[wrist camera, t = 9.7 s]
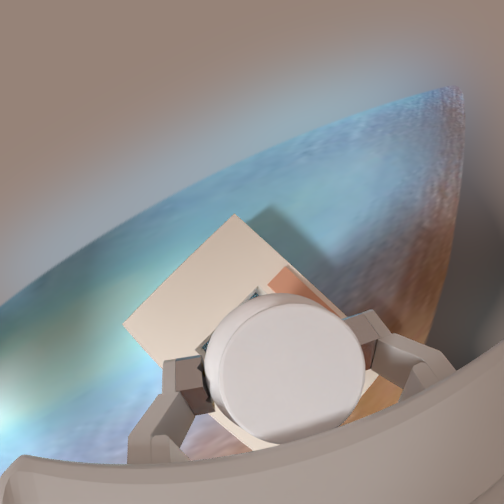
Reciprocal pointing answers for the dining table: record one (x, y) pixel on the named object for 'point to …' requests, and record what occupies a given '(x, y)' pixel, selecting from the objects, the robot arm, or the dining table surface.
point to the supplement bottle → (284, 368)
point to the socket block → (217, 300)
